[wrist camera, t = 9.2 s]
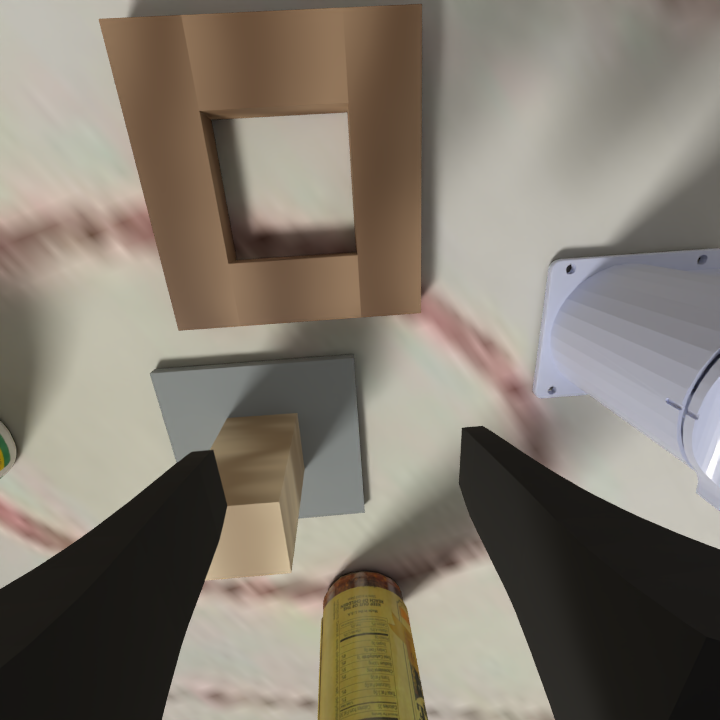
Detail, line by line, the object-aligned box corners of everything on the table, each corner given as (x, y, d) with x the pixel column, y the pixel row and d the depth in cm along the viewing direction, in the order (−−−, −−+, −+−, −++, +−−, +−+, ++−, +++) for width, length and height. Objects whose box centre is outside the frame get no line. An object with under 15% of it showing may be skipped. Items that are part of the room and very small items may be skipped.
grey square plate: (353, 354, 20) (353, 357, 20) (363, 505, 25) (364, 512, 24) (155, 369, 20) (149, 373, 20) (199, 520, 24) (196, 527, 24)
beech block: (297, 412, 21) (279, 502, 14) (304, 469, 22) (291, 573, 16) (227, 417, 21) (177, 509, 14) (239, 474, 22) (198, 580, 16)
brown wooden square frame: (414, 23, 15) (421, 3, 14) (415, 306, 20) (420, 313, 18) (121, 37, 15) (98, 18, 13) (190, 322, 19) (178, 330, 18)
